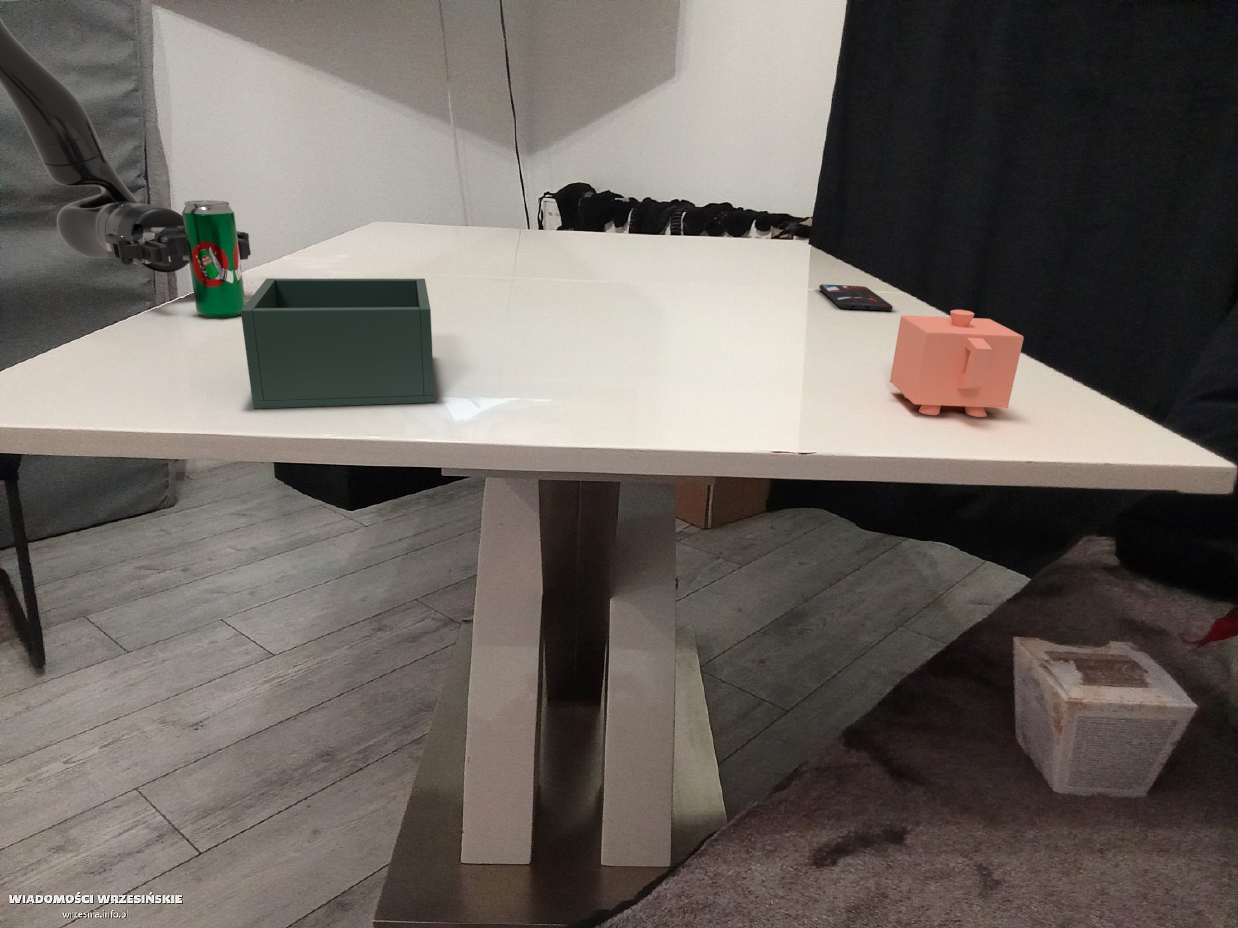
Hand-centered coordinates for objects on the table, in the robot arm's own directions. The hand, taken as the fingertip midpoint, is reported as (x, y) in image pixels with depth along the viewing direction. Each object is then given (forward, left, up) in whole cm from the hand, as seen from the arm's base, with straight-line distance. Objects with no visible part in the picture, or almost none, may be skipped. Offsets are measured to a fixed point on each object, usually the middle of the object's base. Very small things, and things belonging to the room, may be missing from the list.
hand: (206, 253), depth 91 cm
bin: (+16, -30, -7) cm, 34 cm away
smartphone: (+83, +4, -7) cm, 83 cm away
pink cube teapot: (+66, -42, -7) cm, 78 cm away
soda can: (+1, -2, -7) cm, 7 cm away
